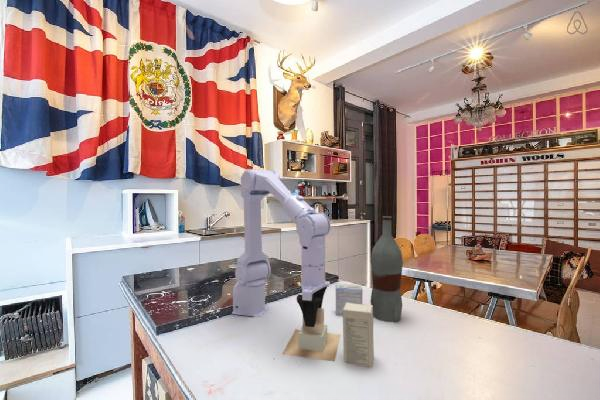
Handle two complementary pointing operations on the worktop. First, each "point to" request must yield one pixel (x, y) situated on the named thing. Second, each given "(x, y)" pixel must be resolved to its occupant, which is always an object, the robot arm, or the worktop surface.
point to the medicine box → (347, 296)
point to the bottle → (386, 276)
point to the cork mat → (327, 354)
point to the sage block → (312, 340)
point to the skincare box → (358, 334)
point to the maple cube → (316, 324)
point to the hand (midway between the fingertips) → (313, 318)
